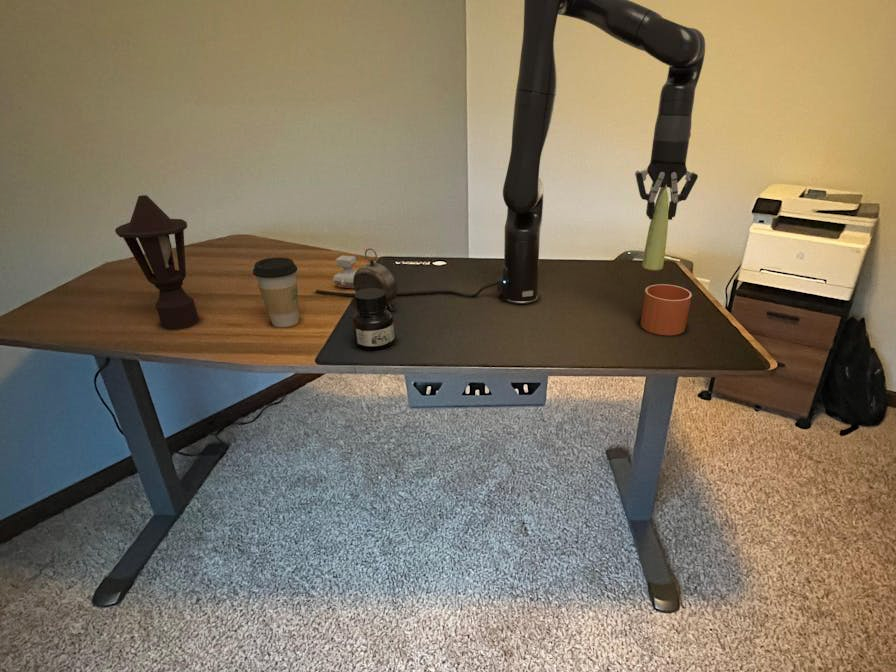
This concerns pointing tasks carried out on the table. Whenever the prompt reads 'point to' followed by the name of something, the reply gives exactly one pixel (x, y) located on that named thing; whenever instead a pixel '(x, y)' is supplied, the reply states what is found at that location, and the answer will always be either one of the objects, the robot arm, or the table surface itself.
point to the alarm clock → (375, 279)
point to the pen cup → (665, 309)
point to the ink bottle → (372, 320)
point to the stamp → (345, 271)
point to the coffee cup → (278, 289)
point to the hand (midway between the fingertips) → (659, 218)
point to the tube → (657, 233)
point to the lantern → (161, 260)
